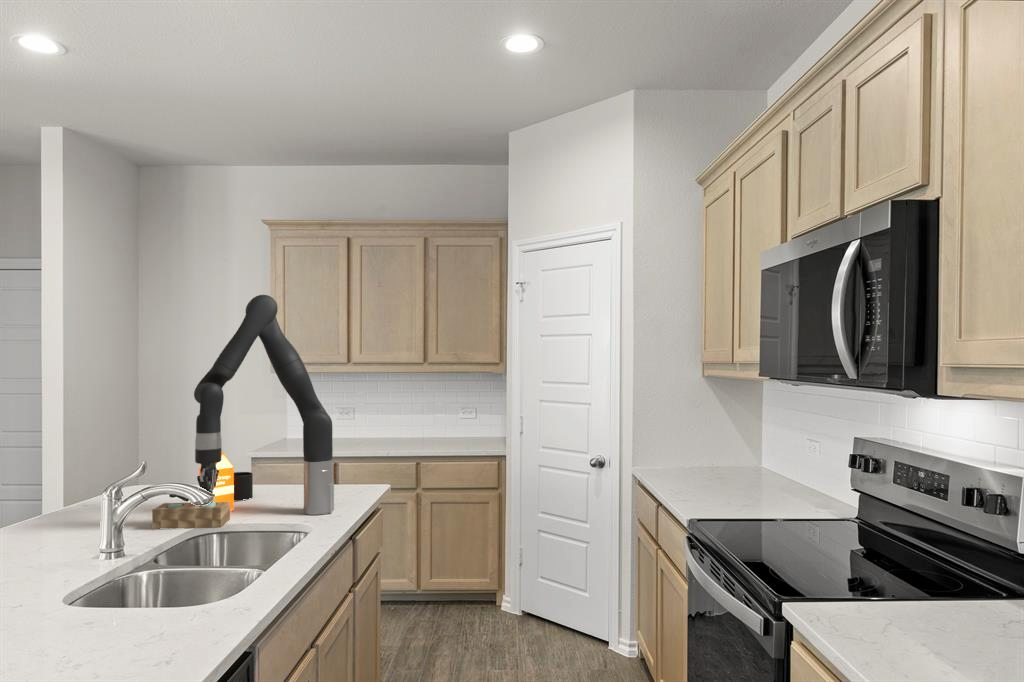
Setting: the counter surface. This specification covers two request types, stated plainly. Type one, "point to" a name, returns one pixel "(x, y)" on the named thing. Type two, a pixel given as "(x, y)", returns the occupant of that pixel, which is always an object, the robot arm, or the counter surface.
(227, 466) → the orange juice
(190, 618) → the counter surface
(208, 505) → the peg
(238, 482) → the black cylinder
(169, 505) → the peg
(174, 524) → the oak block
